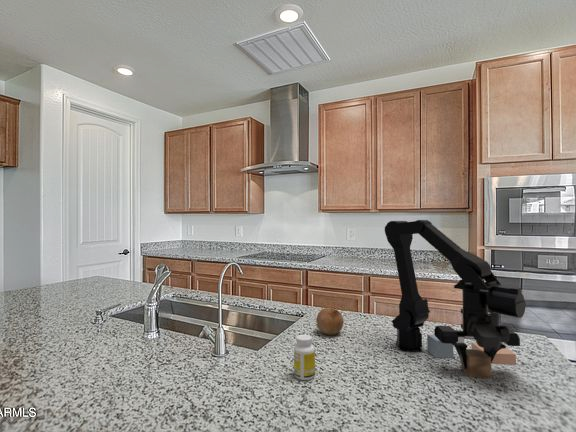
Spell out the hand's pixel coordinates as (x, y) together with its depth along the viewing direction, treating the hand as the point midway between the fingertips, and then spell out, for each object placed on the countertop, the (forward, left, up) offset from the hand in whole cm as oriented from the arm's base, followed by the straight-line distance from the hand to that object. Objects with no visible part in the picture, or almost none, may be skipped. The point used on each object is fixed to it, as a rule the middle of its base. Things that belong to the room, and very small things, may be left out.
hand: (475, 368), depth 82 cm
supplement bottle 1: (-44, -6, -1) cm, 44 cm away
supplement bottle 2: (+15, +25, -1) cm, 29 cm away
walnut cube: (0, 0, -1) cm, 1 cm away
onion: (-37, +25, -1) cm, 45 cm away
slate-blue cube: (-5, +11, -1) cm, 12 cm away
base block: (+9, +10, -1) cm, 14 cm away
